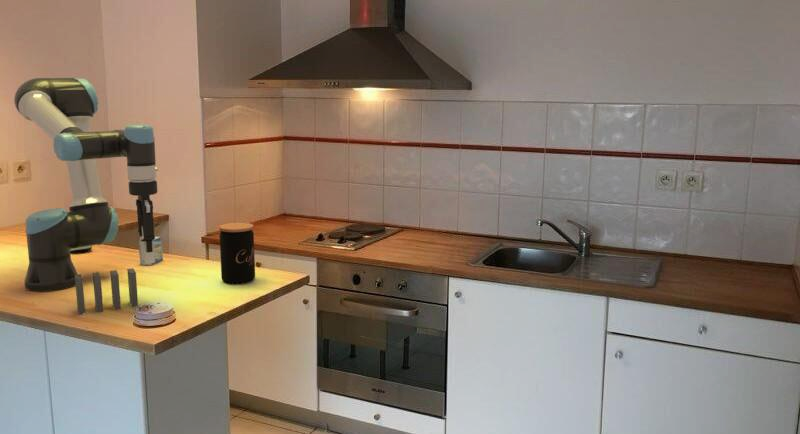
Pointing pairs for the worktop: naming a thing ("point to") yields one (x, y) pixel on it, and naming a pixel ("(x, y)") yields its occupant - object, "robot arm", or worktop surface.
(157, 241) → the medicine box
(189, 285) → the worktop surface
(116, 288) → the domino
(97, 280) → the domino
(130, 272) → the domino
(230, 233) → the coffee jar
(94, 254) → the worktop surface
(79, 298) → the domino
